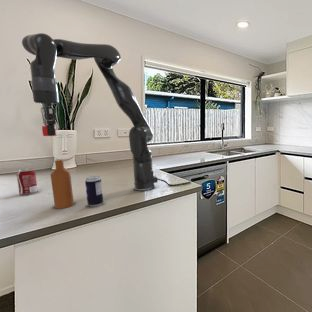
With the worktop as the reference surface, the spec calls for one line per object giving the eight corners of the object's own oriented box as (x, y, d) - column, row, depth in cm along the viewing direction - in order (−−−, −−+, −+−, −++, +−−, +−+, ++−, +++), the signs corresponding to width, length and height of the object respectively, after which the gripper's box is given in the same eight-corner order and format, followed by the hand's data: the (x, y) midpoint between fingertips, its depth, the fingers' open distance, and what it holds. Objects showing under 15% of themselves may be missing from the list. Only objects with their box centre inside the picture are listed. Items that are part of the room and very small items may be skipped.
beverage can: (99, 201, 99) (97, 175, 97) (105, 204, 95) (103, 176, 94) (85, 205, 94) (82, 177, 92) (91, 208, 91) (88, 179, 89)
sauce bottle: (74, 202, 98) (69, 158, 95) (73, 206, 93) (68, 160, 90) (55, 204, 95) (50, 159, 92) (53, 209, 89) (47, 162, 86)
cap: (44, 136, 84) (43, 126, 84) (41, 135, 87) (40, 126, 86) (57, 135, 87) (56, 126, 87) (54, 135, 90) (53, 126, 89)
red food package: (41, 192, 112) (38, 169, 111) (25, 196, 106) (21, 171, 104) (32, 190, 115) (29, 168, 113) (16, 194, 108) (12, 170, 107)
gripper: (30, 91, 87) (36, 135, 89) (34, 87, 77) (40, 136, 80) (54, 93, 92) (59, 134, 95) (61, 89, 83) (66, 135, 85)
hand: (50, 135), depth 87 cm, fingers closed on cap, 4 cm apart
